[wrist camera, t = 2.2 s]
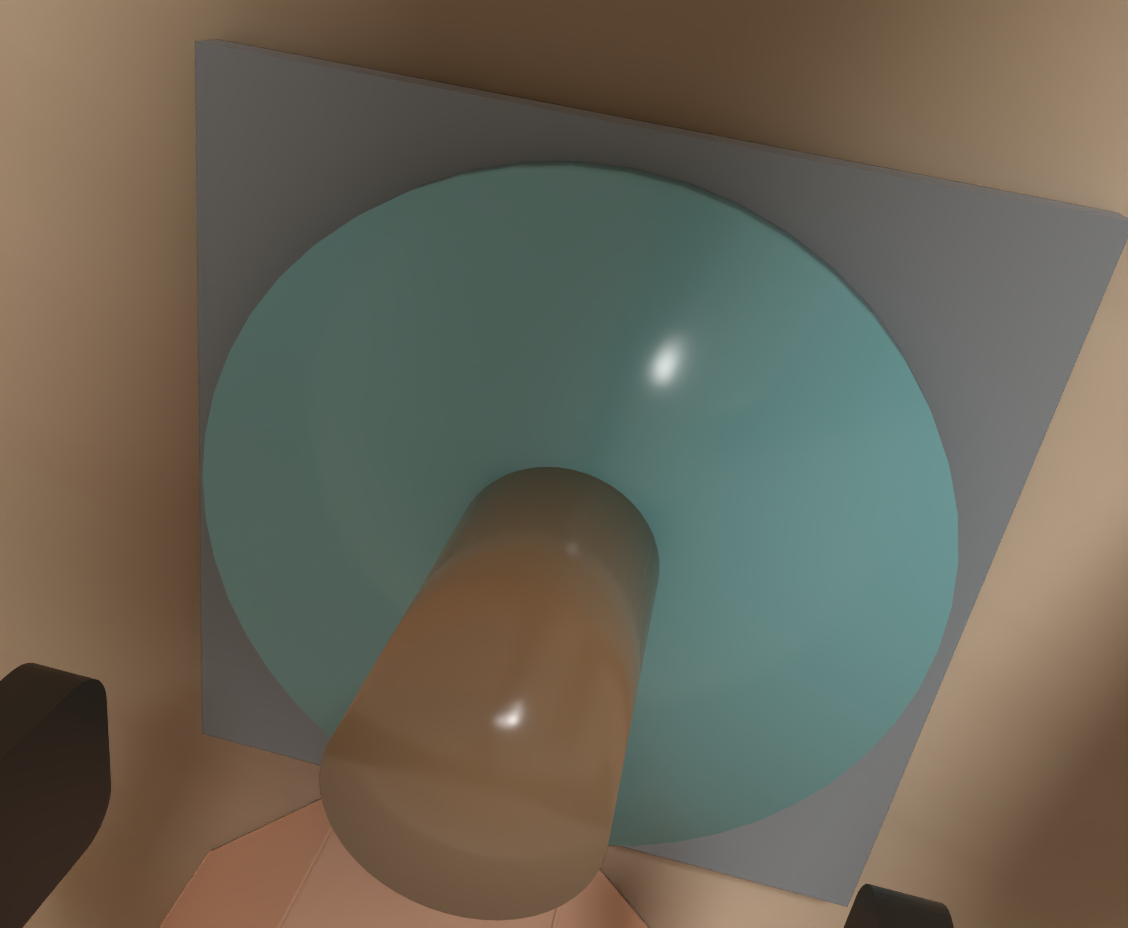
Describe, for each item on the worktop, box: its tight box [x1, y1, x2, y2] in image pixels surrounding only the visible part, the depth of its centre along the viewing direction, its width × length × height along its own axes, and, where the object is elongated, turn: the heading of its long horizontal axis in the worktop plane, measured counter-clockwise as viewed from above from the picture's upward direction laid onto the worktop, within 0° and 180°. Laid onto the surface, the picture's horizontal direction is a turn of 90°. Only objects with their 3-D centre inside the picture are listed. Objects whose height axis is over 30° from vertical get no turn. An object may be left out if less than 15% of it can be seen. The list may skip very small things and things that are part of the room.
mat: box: [195, 40, 1128, 907], centre depth 15 cm, size 12×12×1 cm
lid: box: [203, 161, 958, 921], centre depth 12 cm, size 11×11×6 cm
